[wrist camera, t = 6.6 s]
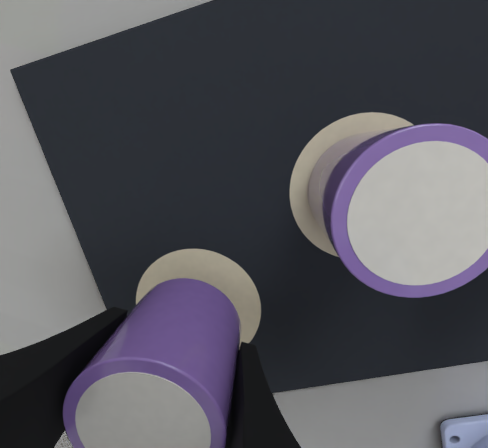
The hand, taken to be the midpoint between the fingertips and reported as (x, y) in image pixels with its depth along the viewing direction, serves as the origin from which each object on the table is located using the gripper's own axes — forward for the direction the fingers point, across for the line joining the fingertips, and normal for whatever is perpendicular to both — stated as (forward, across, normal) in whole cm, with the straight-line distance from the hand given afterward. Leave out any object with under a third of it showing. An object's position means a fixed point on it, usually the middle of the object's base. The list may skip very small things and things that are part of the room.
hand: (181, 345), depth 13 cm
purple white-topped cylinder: (+3, -6, -8) cm, 10 cm away
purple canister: (+1, 0, 0) cm, 1 cm away
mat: (+3, -6, -8) cm, 10 cm away
